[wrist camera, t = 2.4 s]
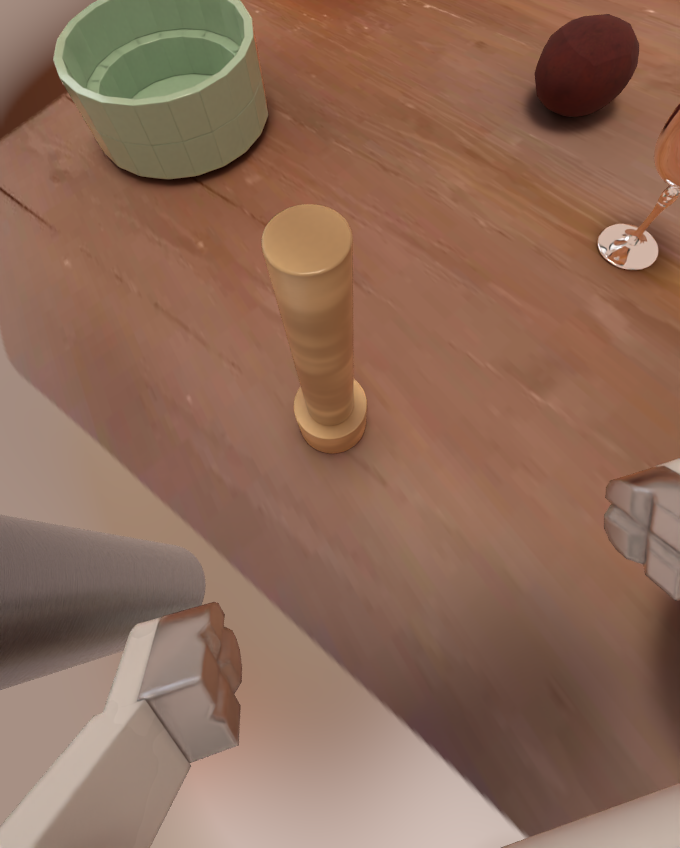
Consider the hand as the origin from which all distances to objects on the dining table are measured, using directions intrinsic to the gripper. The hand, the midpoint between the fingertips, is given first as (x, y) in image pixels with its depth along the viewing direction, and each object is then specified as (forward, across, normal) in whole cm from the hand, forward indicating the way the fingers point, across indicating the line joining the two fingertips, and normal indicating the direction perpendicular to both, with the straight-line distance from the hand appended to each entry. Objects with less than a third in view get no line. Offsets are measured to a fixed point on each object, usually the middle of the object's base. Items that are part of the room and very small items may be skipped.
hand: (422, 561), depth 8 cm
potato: (+36, -29, -11) cm, 47 cm away
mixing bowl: (+42, +5, -18) cm, 46 cm away
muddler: (+19, 0, +5) cm, 20 cm away
